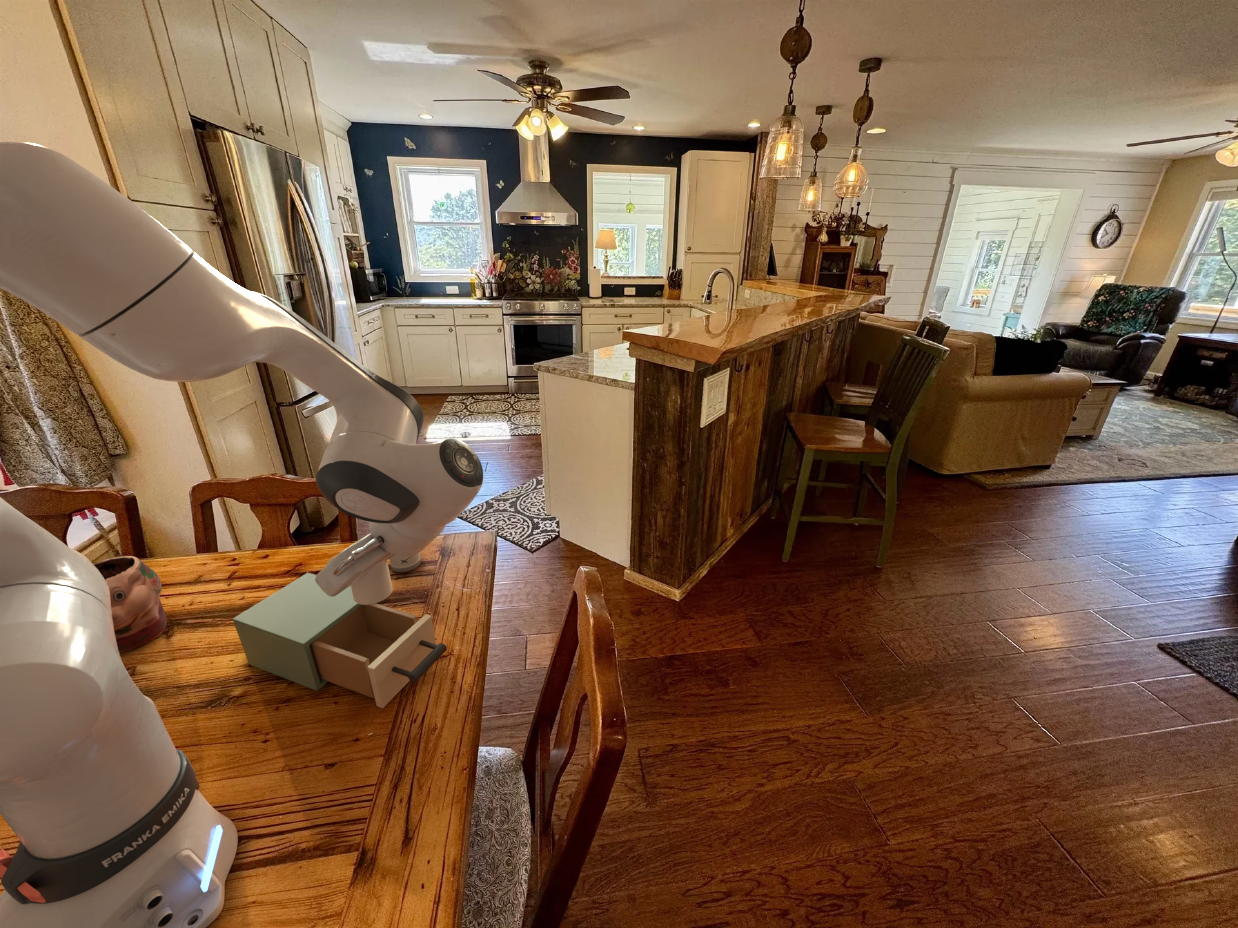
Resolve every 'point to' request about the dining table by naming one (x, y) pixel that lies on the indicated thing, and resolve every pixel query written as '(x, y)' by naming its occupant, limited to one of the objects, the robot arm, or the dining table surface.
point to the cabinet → (291, 629)
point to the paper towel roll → (373, 586)
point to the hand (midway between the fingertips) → (364, 566)
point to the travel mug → (405, 562)
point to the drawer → (376, 651)
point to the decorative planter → (133, 601)
